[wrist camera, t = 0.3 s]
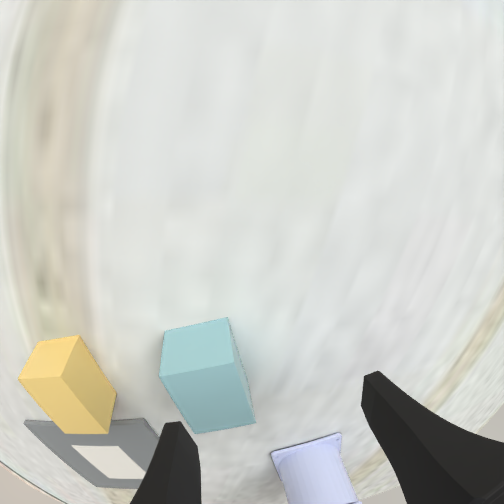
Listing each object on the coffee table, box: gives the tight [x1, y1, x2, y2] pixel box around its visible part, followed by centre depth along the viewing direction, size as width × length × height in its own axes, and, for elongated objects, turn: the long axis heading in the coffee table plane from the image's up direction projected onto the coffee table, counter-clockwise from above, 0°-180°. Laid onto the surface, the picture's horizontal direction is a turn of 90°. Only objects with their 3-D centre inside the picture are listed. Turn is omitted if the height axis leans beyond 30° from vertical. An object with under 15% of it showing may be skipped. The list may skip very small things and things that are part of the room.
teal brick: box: [159, 317, 256, 434], centre depth 19 cm, size 6×4×4 cm
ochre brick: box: [18, 335, 117, 434], centre depth 18 cm, size 6×4×4 cm
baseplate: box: [24, 418, 160, 489], centre depth 25 cm, size 16×16×1 cm
